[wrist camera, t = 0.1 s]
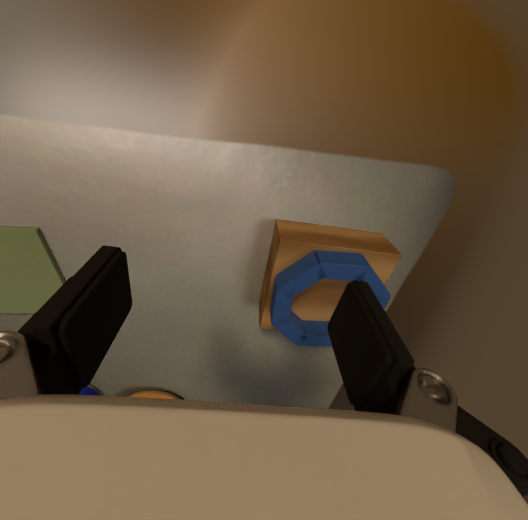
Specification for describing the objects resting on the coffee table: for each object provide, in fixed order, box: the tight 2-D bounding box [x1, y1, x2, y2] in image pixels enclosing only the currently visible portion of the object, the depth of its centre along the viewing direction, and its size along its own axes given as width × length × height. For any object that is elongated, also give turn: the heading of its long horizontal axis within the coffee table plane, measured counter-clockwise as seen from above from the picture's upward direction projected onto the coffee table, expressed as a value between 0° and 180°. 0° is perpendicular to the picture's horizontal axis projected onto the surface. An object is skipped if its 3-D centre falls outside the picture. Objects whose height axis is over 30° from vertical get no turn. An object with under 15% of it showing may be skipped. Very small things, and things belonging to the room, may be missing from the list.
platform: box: [259, 220, 401, 330], centre depth 26 cm, size 11×11×4 cm
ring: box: [270, 250, 390, 347], centre depth 24 cm, size 10×10×2 cm
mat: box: [0, 227, 65, 314], centre depth 26 cm, size 11×11×1 cm
